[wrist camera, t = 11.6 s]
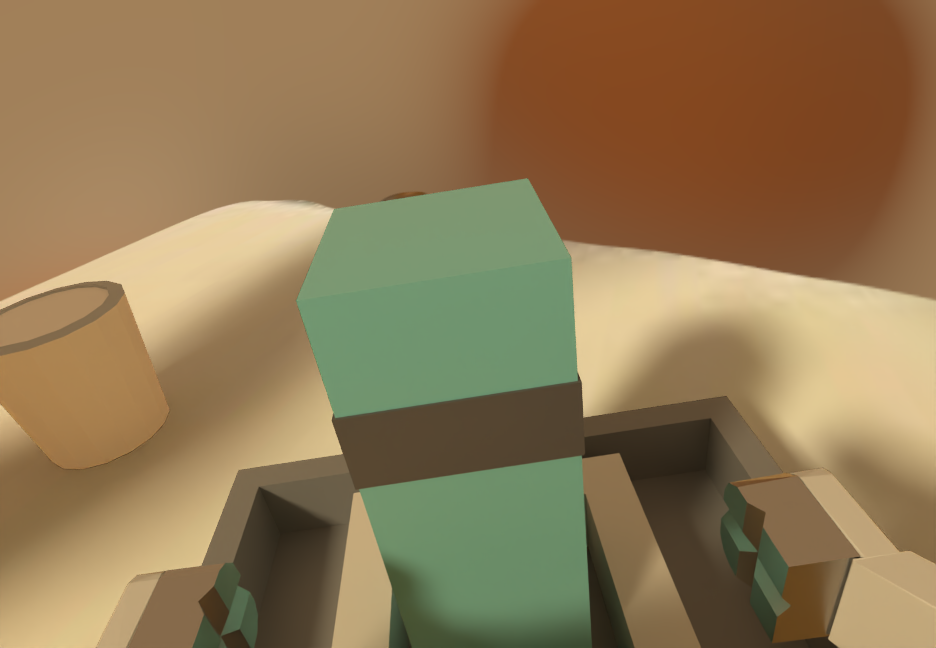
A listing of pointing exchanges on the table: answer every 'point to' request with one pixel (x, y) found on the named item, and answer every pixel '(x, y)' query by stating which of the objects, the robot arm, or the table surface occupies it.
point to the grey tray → (607, 538)
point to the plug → (460, 409)
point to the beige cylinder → (79, 374)
